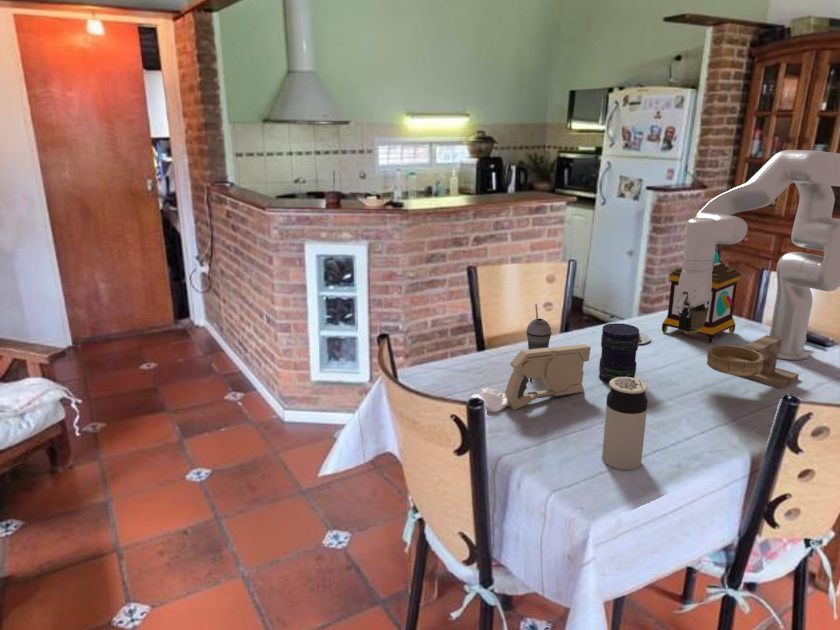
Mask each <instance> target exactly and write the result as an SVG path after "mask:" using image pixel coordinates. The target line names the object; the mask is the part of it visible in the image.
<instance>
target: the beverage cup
mask: <svg viewBox="0 0 840 630" xmlns="http://www.w3.org/2000/svg"><path fill="white" fill-rule="evenodd" d="M534 306H535V317H536V318H535V319H532V320H531V321H530V322H529V323H528V326H527V327H526V338H527V348H528V349H527V350H530V349H539V348H549V345H550V340H551V337H552V329H551V328H552V327H551V325H550V323H549V322H548V321H547V320H545V319H544V318H539V317H538V315H539V314H538V303H535V304H534Z"/></svg>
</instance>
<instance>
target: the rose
mask: <svg viewBox="0 0 840 630" xmlns="http://www.w3.org/2000/svg"><path fill="white" fill-rule="evenodd" d="M470 397H471V399H472V398H479V399H482V400H484V402H485V405H486V409H485V410H486V411H487V412H491V413H492V412H493V413H498V412H500V411H501V410H504V409H505V408H506V407H507V406H509V405H508V403H509V401H508V400H507V398H506V394H505V393H503V392H501V391H500V389H491V388H490V387H486V388H482V390H481V391H480V393H479V394H478V393H476V394H472V395H471V396H470Z"/></svg>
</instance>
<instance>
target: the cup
mask: <svg viewBox="0 0 840 630" xmlns="http://www.w3.org/2000/svg"><path fill="white" fill-rule="evenodd" d="M685 305H687V306H690V304H685ZM708 309H709V307H707V308H705V306H703V305H699V306H697V307H694V308H693V310H692V313H691V316H690V317H691V318H692V319H691V330H690V331H689V332H688V331H684V333H685V334H687V335H690V336H693V335H695V336H696V335H698V332H699V330H698V329H700V328H702V327H703V326H704V324H705V321H706V317H707V313H708ZM685 310H686V311H687V312H688V308H685Z"/></svg>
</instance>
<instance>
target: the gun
mask: <svg viewBox="0 0 840 630" xmlns="http://www.w3.org/2000/svg"><path fill="white" fill-rule="evenodd" d="M591 348H592V347H591V346H589V345H588V344H585V343H583V344H573V345H564V346H556V347H555V346H554V347H548V348H539V349H530V350H528V349H522V350H520V352H519V353H517V355H516V356H515V357H514V359H513V360H512V361H511V362H510V367H512V369H513V370H512V372H511V374H510V377H509V380H508V383H507V386H506V389H505V391H504V392H505V393H504V394H505V398H507V400H508V401H509V403H508V405H507V406H508V407H510V408H511V409H512V410H514V411H515V410H517V409H520V408H522V407H524V406H526V405H528V404H530V403H531V402H532V401H535V400H537V399H542V398H548V397H555V398H556V397H563V396H569V395H575V394H581V393H584V392H585V389H584V386H583V380H584V374H585V373H584V363H585V362H589V361H590V356H591V355H590V354H591ZM537 378H541V379H542V381H543V383H544V384H545V386H546V387H547V389H544V390H539V391H530V392H529V391H528V392H526V389H527V388H528V386H527V384H528V383H529V382H530V384H534V383H533V379H537Z"/></svg>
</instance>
